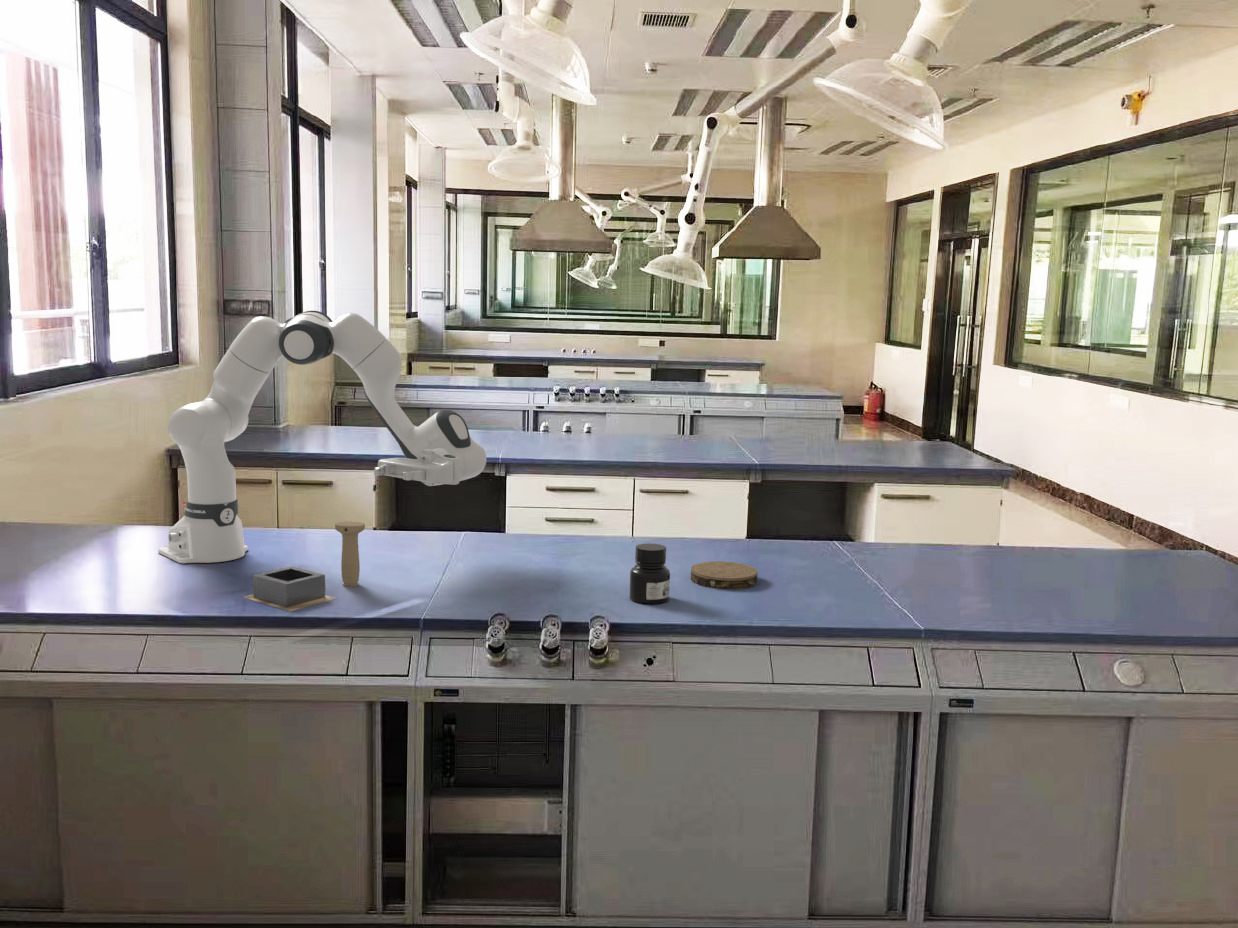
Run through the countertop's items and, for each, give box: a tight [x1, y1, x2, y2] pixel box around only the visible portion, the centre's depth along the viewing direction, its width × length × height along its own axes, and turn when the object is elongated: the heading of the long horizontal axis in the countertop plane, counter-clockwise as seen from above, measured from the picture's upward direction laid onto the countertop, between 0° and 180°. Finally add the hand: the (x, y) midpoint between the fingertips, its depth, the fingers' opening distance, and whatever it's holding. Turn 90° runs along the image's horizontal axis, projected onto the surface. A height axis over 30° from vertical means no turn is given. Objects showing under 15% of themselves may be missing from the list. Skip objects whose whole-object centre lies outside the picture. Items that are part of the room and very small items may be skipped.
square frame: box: [252, 565, 326, 608], centre depth 224 cm, size 11×10×5 cm
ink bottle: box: [629, 542, 671, 605], centre depth 233 cm, size 10×9×12 cm
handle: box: [334, 520, 366, 588], centre depth 234 cm, size 5×6×15 cm
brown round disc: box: [690, 560, 758, 591], centre depth 251 cm, size 16×16×3 cm
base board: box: [243, 593, 338, 612], centre depth 224 cm, size 16×12×1 cm
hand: (390, 474), depth 241 cm, fingers open, 8 cm apart
